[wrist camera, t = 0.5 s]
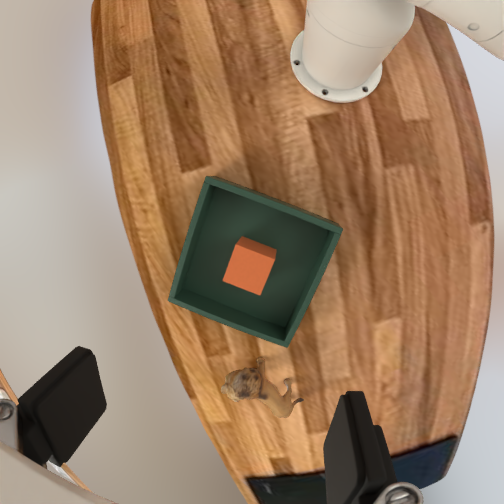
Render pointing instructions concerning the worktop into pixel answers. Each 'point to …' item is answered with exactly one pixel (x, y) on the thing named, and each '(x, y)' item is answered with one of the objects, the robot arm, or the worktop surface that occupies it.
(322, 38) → the robot arm
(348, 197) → the worktop surface
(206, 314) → the crate
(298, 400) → the lion figurine
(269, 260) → the toy cube
